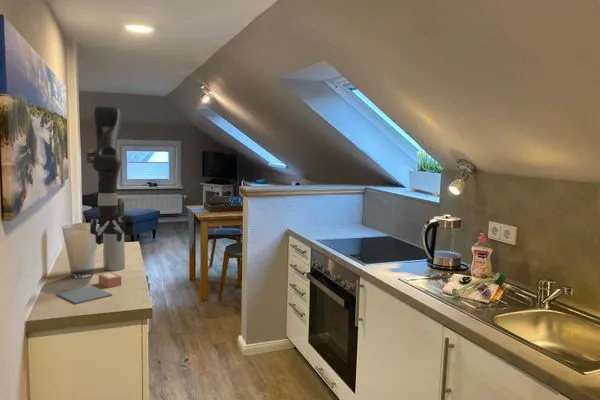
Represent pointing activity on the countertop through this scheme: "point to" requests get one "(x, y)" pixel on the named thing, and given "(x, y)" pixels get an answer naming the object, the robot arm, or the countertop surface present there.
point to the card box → (110, 280)
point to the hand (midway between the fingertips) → (108, 242)
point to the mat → (84, 294)
